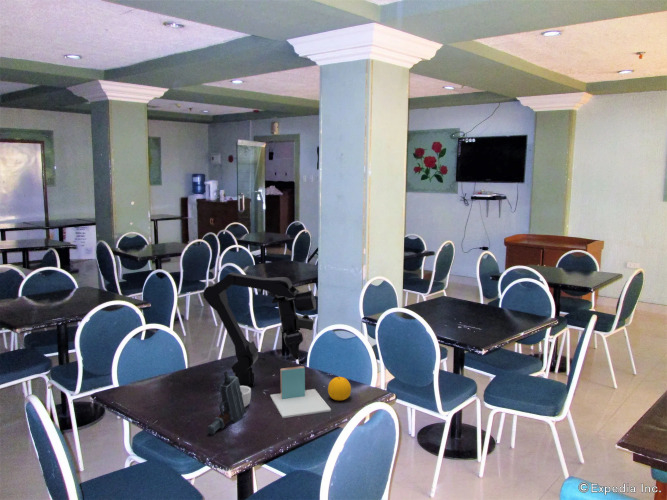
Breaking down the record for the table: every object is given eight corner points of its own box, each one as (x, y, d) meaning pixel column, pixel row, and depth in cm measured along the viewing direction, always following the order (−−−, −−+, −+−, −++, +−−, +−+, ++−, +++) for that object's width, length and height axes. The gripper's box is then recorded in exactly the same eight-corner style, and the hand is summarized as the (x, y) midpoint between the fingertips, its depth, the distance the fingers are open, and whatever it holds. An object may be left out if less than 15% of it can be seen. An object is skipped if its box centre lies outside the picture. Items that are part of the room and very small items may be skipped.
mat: (282, 418, 169) (282, 416, 169) (270, 396, 186) (270, 394, 186) (331, 411, 174) (331, 409, 174) (314, 390, 191) (314, 389, 191)
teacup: (236, 399, 184) (236, 384, 183) (255, 403, 180) (255, 387, 180) (218, 410, 175) (218, 394, 174) (238, 415, 171) (238, 398, 171)
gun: (197, 392, 154) (230, 364, 166) (209, 440, 160) (240, 409, 172) (204, 394, 153) (237, 365, 165) (216, 442, 159) (247, 411, 171)
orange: (348, 404, 180) (348, 382, 179) (325, 402, 181) (325, 380, 180) (352, 394, 187) (352, 374, 186) (330, 393, 189) (330, 372, 188)
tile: (282, 399, 182) (281, 370, 181) (280, 396, 184) (280, 368, 183) (305, 396, 185) (304, 367, 183) (303, 393, 187) (303, 366, 185)
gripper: (313, 313, 182) (321, 358, 184) (306, 304, 200) (314, 344, 202) (280, 320, 180) (289, 365, 182) (277, 310, 199) (284, 351, 200)
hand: (295, 355), depth 192 cm, fingers open, 9 cm apart
